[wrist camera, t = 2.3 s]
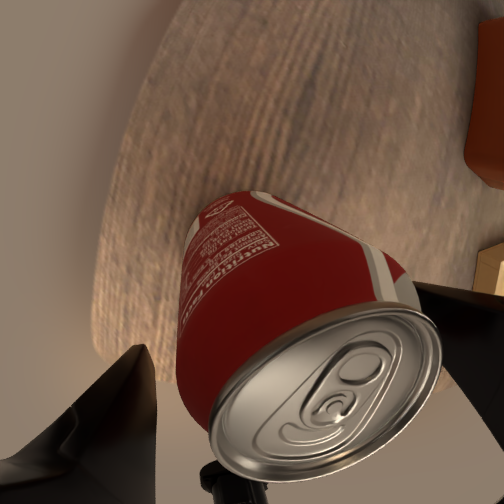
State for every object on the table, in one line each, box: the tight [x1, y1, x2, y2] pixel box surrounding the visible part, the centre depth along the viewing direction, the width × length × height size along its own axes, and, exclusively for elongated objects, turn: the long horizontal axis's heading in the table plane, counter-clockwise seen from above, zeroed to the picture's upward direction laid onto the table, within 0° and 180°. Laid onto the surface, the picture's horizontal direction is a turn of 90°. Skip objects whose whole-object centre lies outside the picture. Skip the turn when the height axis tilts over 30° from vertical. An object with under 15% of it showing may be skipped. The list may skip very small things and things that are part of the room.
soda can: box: [176, 191, 443, 483], centre depth 11 cm, size 7×7×12 cm
